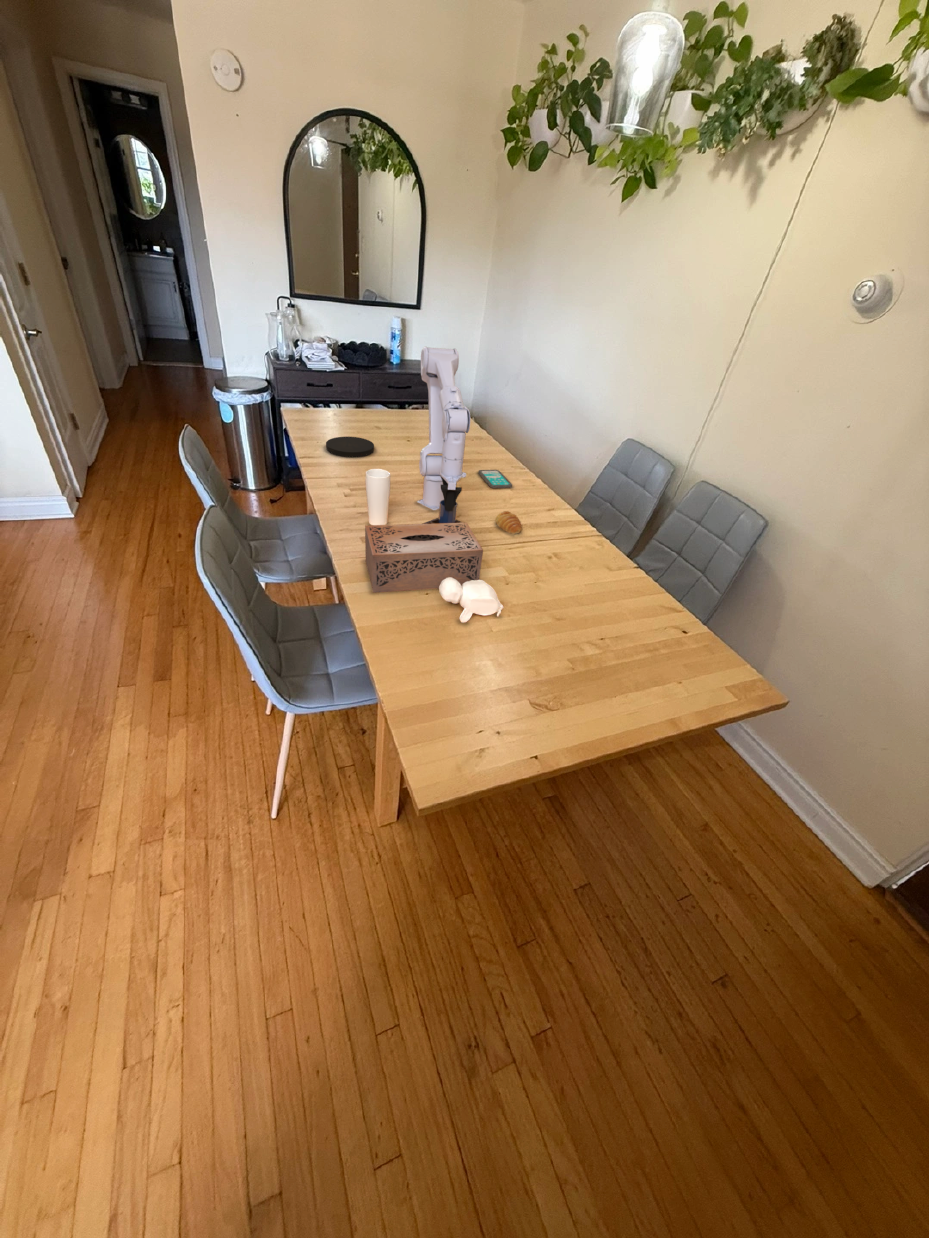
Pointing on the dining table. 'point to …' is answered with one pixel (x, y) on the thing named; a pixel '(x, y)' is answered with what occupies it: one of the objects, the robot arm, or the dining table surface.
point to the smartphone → (495, 479)
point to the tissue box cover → (420, 555)
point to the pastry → (509, 522)
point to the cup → (447, 514)
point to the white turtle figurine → (471, 597)
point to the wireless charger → (350, 447)
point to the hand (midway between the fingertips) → (448, 504)
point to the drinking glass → (377, 495)
